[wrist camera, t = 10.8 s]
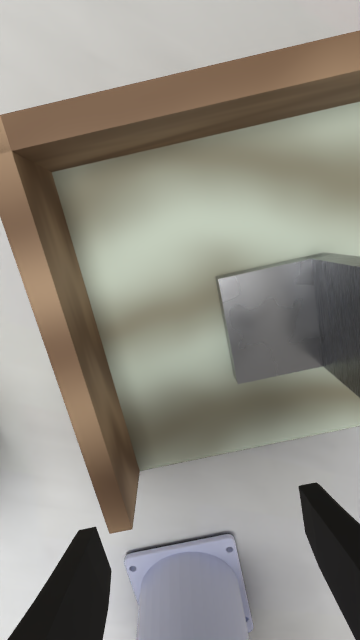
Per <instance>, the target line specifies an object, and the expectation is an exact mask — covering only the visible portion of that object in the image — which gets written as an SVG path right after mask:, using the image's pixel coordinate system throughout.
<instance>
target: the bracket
mask: <svg viewBox="0 0 360 640" xmlns="http://www.w3.org/2000/svg"><path fill="white" fill-rule="evenodd" d="M215 279H216V284H217V290H218V295H219V300H220V306H221V311H222V316H223V322H224V327H225V332H226V337H227V343H228V348H229V353H230V359H231V364H232V369H233V375H234V377H235V379H236V382H237V384H242V383H247V382H252V381H256V380H261V379H266V378H271V377H275V376H280V375H285V374H289V373H294V372H299V371H304V370H308V369H313V368H318V367H322V366H323V367H324V368H325V369H327V370H328V371H329V372H330V373H331V374H332V375H334V376H335V377H336V378H337V379H338V380H339V381H341V382H342V383H343V384H344V385H345V386H346V387H348V388H349V389H350V390H351V391H352V392H353V393H355V394H356V395H357V396H358V397H359V398H360V256H352V255H343V254H334V253H326V252H323V253H318V254H314V255H309V256H305V257H300V258H296V259H291V260H287V261H282V262H278V263H273V264H269V265H264V266H260V267H255V268H250V269H246V270H241V271H237V272H232V273H228V274H223V275H219V276H215Z"/></svg>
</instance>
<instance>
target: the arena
mask: <svg viewBox="0 0 360 640" xmlns="http://www.w3.org/2000/svg"><path fill="white" fill-rule="evenodd" d="M0 217H1V220H2V223H3V226H4V228H5V231H6V234H7V237H8V240H9V243H10V246H11V249H12V252H13V255H14V258H15V260H16V263H17V266H18V269H19V272H20V275H21V278H22V281H23V284H24V287H25V289H26V292H27V295H28V298H29V301H30V304H31V307H32V310H33V313H34V316H35V318H36V321H37V324H38V327H39V330H40V333H41V336H42V339H43V342H44V345H45V348H46V350H47V353H48V356H49V359H50V362H51V365H52V368H53V371H54V374H55V377H56V379H57V382H58V385H59V388H60V391H61V394H62V397H63V400H64V403H65V406H66V409H67V411H68V414H69V417H70V420H71V423H72V426H73V429H74V432H75V435H76V438H77V440H78V443H79V446H80V449H81V452H82V455H83V458H84V461H85V464H86V467H87V470H88V472H89V475H90V478H91V481H92V484H93V487H94V490H95V493H96V496H97V499H98V501H99V504H100V507H101V510H102V513H103V516H104V519H105V522H106V525H107V528H108V531H109V533H110V534H111V533H116V532H121V531H126V530H131V529H132V528H133V520H134V512H135V504H136V496H137V488H138V480H139V472H140V471H143V470H148V469H152V468H157V467H162V466H167V465H172V464H177V463H182V462H187V461H191V460H196V459H201V458H206V457H211V456H216V455H221V454H226V453H230V452H235V451H240V450H245V449H250V448H255V447H260V446H265V445H269V444H274V443H279V442H284V441H289V440H294V439H299V438H304V437H308V436H313V435H318V434H323V433H328V432H333V431H338V430H343V429H348V428H352V427H357V426H360V398H359V397H358V396H357V395H356V394H355V393H353V392H352V391H351V390H350V389H349V388H348V387H346V386H345V385H344V384H343V383H342V382H341V381H339V380H338V379H337V378H336V377H335V376H334V375H332V374H331V373H330V372H329V371H328V370H327V369H325V368H324V367H323V366H322V367H318V368H313V369H308V370H304V371H299V372H294V373H289V374H285V375H280V376H275V377H271V378H266V379H261V380H256V381H252V382H247V383H242V384H237V382H236V379H235V377H234V375H233V369H232V364H231V359H230V353H229V348H228V343H227V337H226V332H225V327H224V322H223V316H222V311H221V306H220V300H219V295H218V290H217V284H216V279H215V276H219V275H223V274H228V273H232V272H237V271H241V270H246V269H250V268H255V267H260V266H264V265H269V264H273V263H278V262H282V261H287V260H291V259H296V258H300V257H305V256H309V255H314V254H318V253H323V252H326V253H334V254H343V255H352V256H360V31H356V32H351V33H347V34H343V35H339V36H334V37H330V38H326V39H322V40H317V41H313V42H309V43H305V44H300V45H296V46H292V47H287V48H283V49H279V50H275V51H270V52H266V53H262V54H258V55H253V56H249V57H245V58H241V59H236V60H232V61H228V62H224V63H219V64H215V65H211V66H207V67H202V68H198V69H194V70H190V71H185V72H181V73H177V74H173V75H168V76H164V77H160V78H156V79H151V80H147V81H143V82H139V83H134V84H130V85H126V86H122V87H117V88H113V89H109V90H105V91H100V92H96V93H92V94H88V95H83V96H79V97H75V98H71V99H66V100H62V101H58V102H54V103H49V104H45V105H41V106H37V107H32V108H28V109H24V110H20V111H15V112H11V113H7V114H2V115H0Z"/></svg>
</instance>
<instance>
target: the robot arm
mask: <svg viewBox="0 0 360 640" xmlns="http://www.w3.org/2000/svg"><path fill="white" fill-rule="evenodd" d="M299 492H300V499H301V506H302V513H303V520H304V527H305V533H306V535H307V538H308V540H309V543H310V546H311V548H312V551H313V553H314V556H315V558H316V561H317V563H318V566H319V568H320V570H321V572H322V574H323V576H324V578H325V580H326V582H327V584H328V586H329V588H330V590H331V592H332V594H333V596H334V598H335V600H336V602H337V604H338V606H339V608H340V610H341V612H342V613H343V615H344V617H345V619H346V621H347V623H348V625H349V627H350V629H351V631H352V633H353V635H354V637H355V639H356V640H360V524H359V523H358V522H357V521H356V520H355V519H354V518H353V517H352V516H351V515H349V514H348V513H347V512H346V511H345V510H344V509H343V508H342V507H341V506H340V505H339V504H338V503H337V502H336V501H335V500H334V499H333V498H332V497H331V496H330V495H329V494H328V493H327V492H326V491H325V490H324V489H323V488H322V487H321V486H320V485H319V484H318V483H311V484H306V485H301V486H299ZM124 564H125V567H126V570H127V573H128V576H129V579H130V582H131V585H132V588H133V591H134V594H135V597H136V600H137V603H138V606H139V613H138V626H137V638H136V640H249V635H248V633H249V632H251V631H252V630H253V622H252V617H251V613H250V608H249V604H248V599H247V594H246V590H245V585H244V581H243V576H242V571H241V567H240V562H239V557H238V553H237V548H236V544H235V539H234V537H233V536H232V535H230V534H225V535H220V536H215V537H210V538H205V539H200V540H195V541H189V542H184V543H179V544H174V545H169V546H164V547H159V548H154V549H149V550H144V551H139V552H134V553H130V554H127V555H126V556H125V560H124ZM110 583H111V568H110V565H109V562H108V560H107V557H106V554H105V551H104V548H103V546H102V543H101V540H100V537H99V534H98V531H97V529H96V527H92V528H88V529H83V530H79V531H78V532H77V534H76V536H75V537H74V539H73V540H72V542H71V544H70V545H69V547H68V548H67V550H66V552H65V553H64V555H63V557H62V558H61V560H60V561H59V563H58V565H57V566H56V568H55V569H54V571H53V573H52V574H51V576H50V577H49V579H48V581H47V582H46V584H45V585H44V587H43V588H42V590H41V591H40V593H39V595H38V596H37V598H36V599H35V601H34V602H33V604H32V605H31V607H30V608H29V610H28V611H27V612H26V614H25V615H24V617H23V618H22V620H21V621H20V623H19V624H18V625H17V627H16V628H15V630H14V631H13V633H12V634H11V635H10V637H9V638H8V640H103V634H104V629H105V623H106V618H107V612H108V605H109V595H110Z"/></svg>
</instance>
